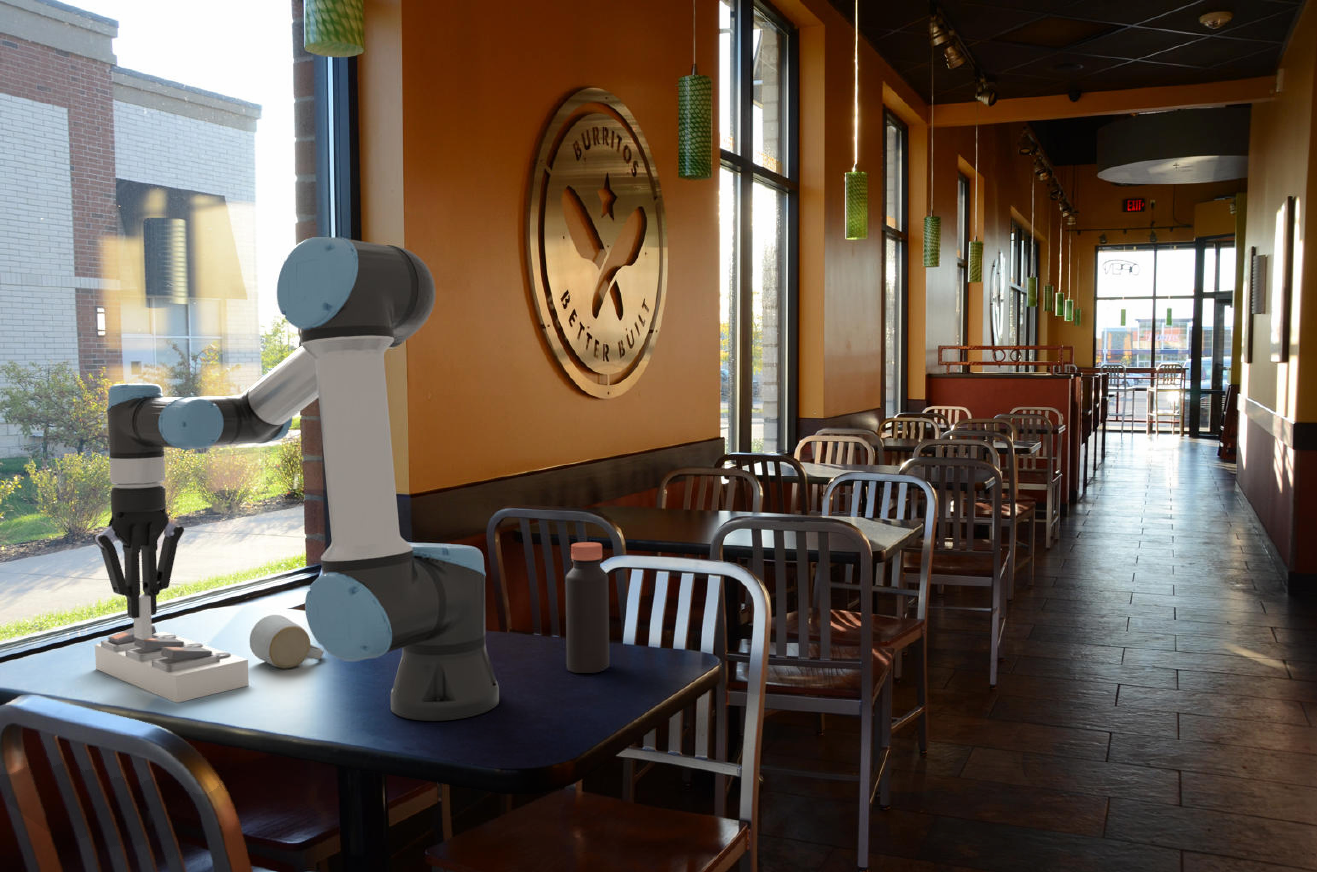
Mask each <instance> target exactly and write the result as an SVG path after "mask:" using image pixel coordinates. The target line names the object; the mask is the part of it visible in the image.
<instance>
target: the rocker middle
mask: <svg viewBox="0 0 1317 872" xmlns="http://www.w3.org/2000/svg"><path fill="white" fill-rule="evenodd" d="M183 645H184V642H183V641H180V640H177V639H174V638H150V639H144V640H141V639H138V638H135V644H134V646H137V647H139V648H142V649H162V647H183Z"/></svg>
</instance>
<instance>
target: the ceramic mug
mask: <svg viewBox="0 0 1317 872" xmlns="http://www.w3.org/2000/svg"><path fill="white" fill-rule="evenodd" d="M249 647H250V650H251V652H252V654H253V655H254V656H255V657H256V658H258V659H259V660H261V661H262V662H265V663H267V664H270V665H271V666H274V667H276V668H277V669H278V668H279V669H285V670H287V669H292V668H295V667H297V666H298V667H299V665H301V664H302V663H303V662H304V661H305V660H306V659H307V658H310V659H315V660H321V659H322V657H323V655H324V650H325V649H323V648H320V647H318V646H316V645H313V644H311V639H310V635H309V634H308V632H307V630H305V628H303V626H301V625H299V624H297V623H295V622H294V621H292V620H290V619H289V618H287V617H285V616H283V615H280V614H270V615H267V616H265V617H262V618H261V619H260V620H259V621H257V622H256V623H255V625H254V626H253V628H252V630H251V631H250V634H249Z"/></svg>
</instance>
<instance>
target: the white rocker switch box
mask: <svg viewBox="0 0 1317 872" xmlns="http://www.w3.org/2000/svg"><path fill="white" fill-rule="evenodd" d="M152 638H174V639H177V640H180V641H183V642H184V645H183V647H201V648H204V649H207V650H210V651H212V655H211V656H210V657H205V658H201V659H170V658H167V657H164V656H161V651H162V649H142V648H139V647H137V646H134V644H135V642H132V643H127V644H122V645H115V644H113V643H110V642H109V640H108V639H105V640H101V641H100V643H96V644H94V647H95V648H94V650H95V651H94V652H95V655H94V656H95V670H98V671H100V672H102V673H105V674H107V675H109V676H112V677H114V678H116V679H119V680H121V681H124V682H126V683H128V684H130V685H133V686H135V687H138V688H141V689H142V690H145V691H147V692H150V693H152V694H155V695H156V696H158V697H161V698H164V699H166V700H169V701H172V702H174V703H176V704H177V703H181V702H185V701H190V700H194V699H197V698H203V697H207V696H211V695H214V694H218V693H223V692H227V691H232V690H235V689H239V688H244V687H247V686H249V683H250V682H249V659H248V658H244V657H242V656H239V655H235V654H232V653H230V652H227V651H223V650H220V649H217V648H214V647H212V646H209V645H205V644H202V643H199V642H196V641H193V640H190V639H187V638H184V637H181V636H178V635H176V634H172V633H168V632H166V631H161V632H156V633H155V634H152Z"/></svg>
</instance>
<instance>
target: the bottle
mask: <svg viewBox="0 0 1317 872" xmlns="http://www.w3.org/2000/svg"><path fill="white" fill-rule="evenodd" d="M570 550H571V551H570V557H571V562H572V563H573V566H572V568H571V569H570V570H569V571H568V573H567V574H566V576H565V625H566V627H565V630H566V631H565V634H566V637H565V639H566V669H567V671H569V672H570V671H571V672H570V673H573V672H574V673H573V674H577V673H594V672H599V671H602V670H604V669H606V668H608V667H609V668H610V612H609V611H610V610H609V609H610V607H609V605H610V604H609V602H610V601H609V598H610V597H609V593H610V591H609V576H608V573H607V572H606V571H605V570H604V569H603V567H601V563H602V561H603V560H602V559H603V544H602V543H600V542H595V541H593V542H591V541H589V542H588V541H586V542H583V541H582V542H575V543H572V544H570ZM609 668H608V669H609Z"/></svg>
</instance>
